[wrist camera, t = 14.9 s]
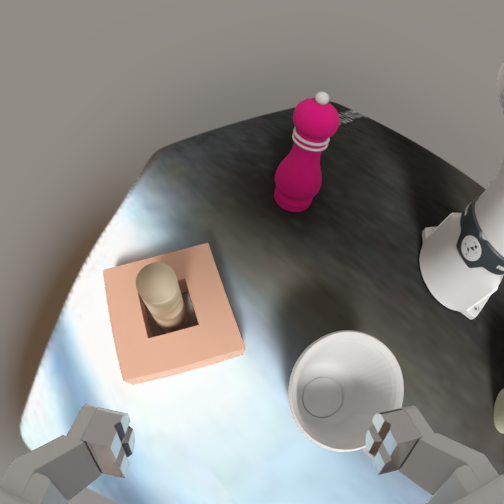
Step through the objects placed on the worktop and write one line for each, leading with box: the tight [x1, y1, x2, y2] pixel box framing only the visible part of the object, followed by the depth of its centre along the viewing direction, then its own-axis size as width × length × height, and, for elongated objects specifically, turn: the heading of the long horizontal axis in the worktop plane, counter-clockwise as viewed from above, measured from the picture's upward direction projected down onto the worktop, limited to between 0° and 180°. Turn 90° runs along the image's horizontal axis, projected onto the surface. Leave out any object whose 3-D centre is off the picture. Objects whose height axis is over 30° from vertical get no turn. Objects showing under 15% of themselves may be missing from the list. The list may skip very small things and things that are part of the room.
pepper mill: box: [274, 92, 339, 212], centre depth 40 cm, size 7×7×20 cm
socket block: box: [103, 243, 245, 384], centre depth 35 cm, size 14×14×4 cm
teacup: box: [288, 330, 404, 459], centre depth 28 cm, size 12×15×10 cm
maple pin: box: [136, 262, 188, 333], centre depth 32 cm, size 4×4×11 cm
